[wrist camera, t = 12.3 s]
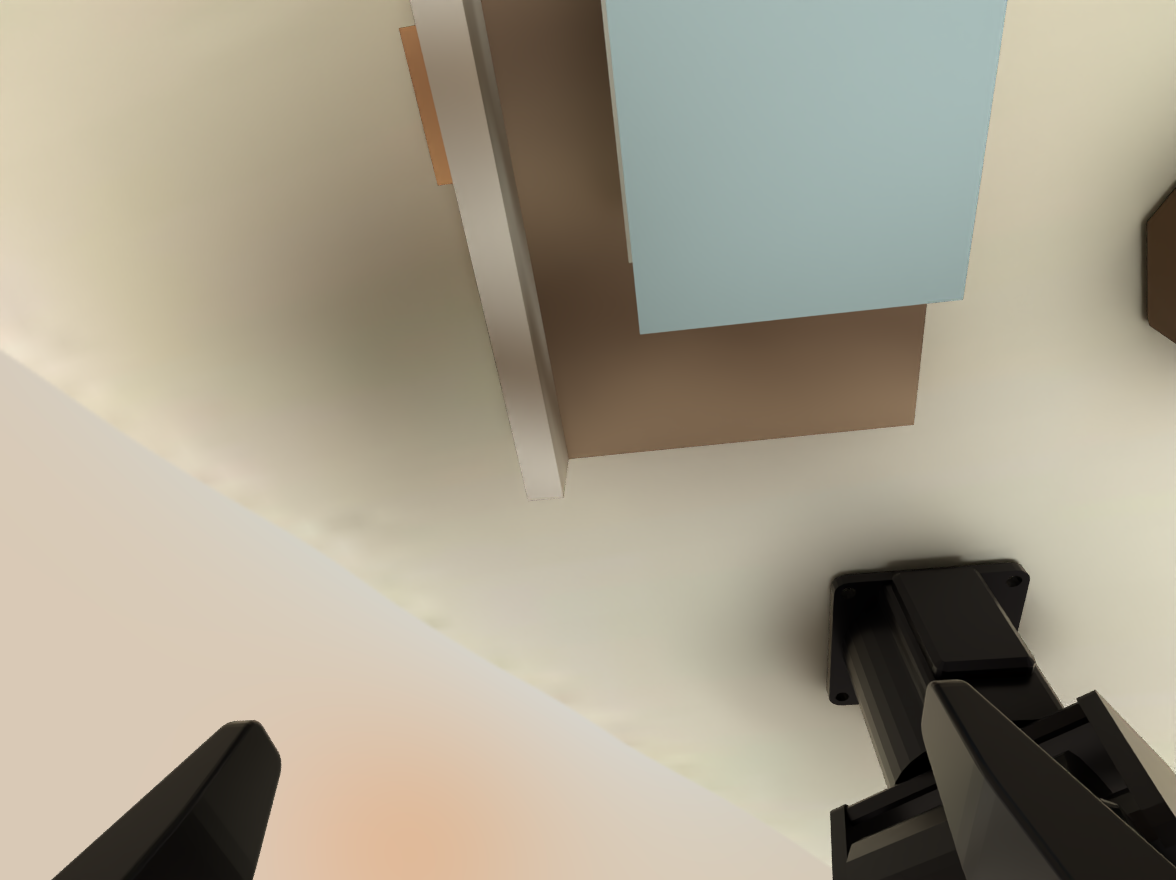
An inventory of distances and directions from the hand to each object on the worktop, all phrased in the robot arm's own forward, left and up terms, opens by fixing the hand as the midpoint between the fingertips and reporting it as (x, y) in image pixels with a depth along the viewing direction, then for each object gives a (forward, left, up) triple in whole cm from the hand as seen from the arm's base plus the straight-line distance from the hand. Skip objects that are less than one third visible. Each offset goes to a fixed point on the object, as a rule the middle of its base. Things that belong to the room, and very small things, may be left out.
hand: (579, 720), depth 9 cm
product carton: (+7, -4, -12) cm, 14 cm away
